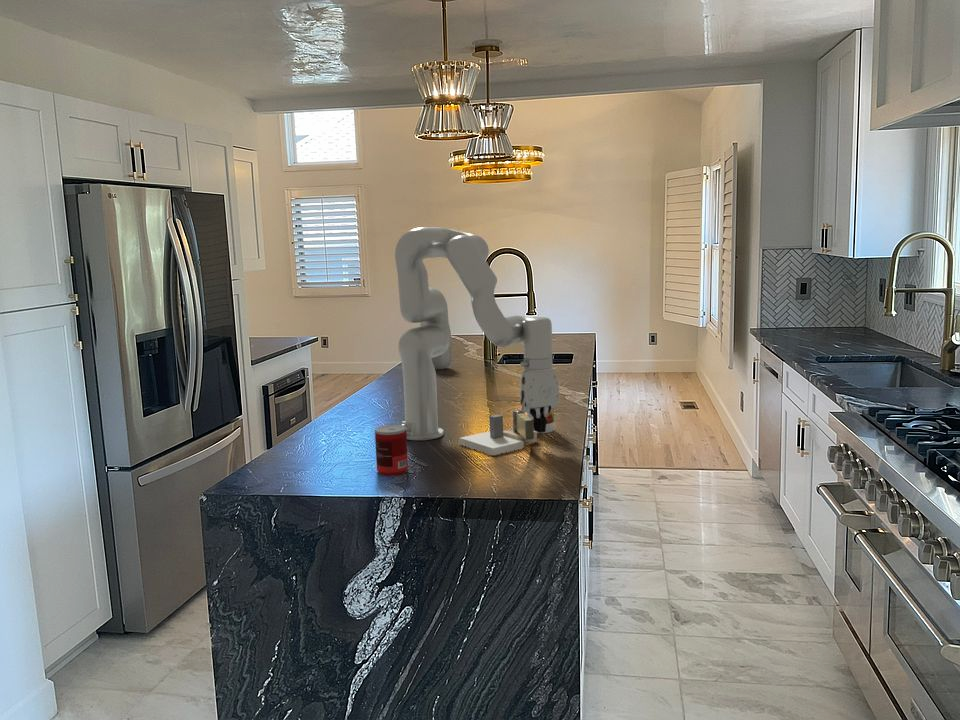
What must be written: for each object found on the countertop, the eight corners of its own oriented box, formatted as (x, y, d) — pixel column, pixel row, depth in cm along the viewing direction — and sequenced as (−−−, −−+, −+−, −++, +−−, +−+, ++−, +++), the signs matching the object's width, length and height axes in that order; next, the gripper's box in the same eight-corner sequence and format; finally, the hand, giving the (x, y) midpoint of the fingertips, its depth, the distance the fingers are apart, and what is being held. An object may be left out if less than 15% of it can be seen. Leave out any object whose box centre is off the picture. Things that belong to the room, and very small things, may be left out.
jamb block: (517, 446, 216) (517, 436, 216) (501, 441, 222) (501, 431, 221) (537, 442, 221) (536, 431, 220) (520, 437, 226) (520, 427, 226)
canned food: (408, 466, 201) (407, 423, 199) (407, 475, 193) (405, 431, 191) (378, 467, 201) (376, 425, 199) (375, 476, 193) (373, 432, 191)
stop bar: (512, 429, 222) (511, 410, 221) (523, 428, 223) (522, 409, 222) (524, 440, 210) (523, 420, 209) (535, 439, 210) (535, 419, 210)
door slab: (493, 455, 208) (492, 426, 207) (459, 444, 220) (458, 416, 219) (523, 448, 214) (523, 419, 213) (489, 438, 226) (488, 410, 225)
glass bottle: (426, 368, 350) (423, 304, 345) (448, 366, 353) (446, 303, 348) (431, 371, 340) (429, 306, 336) (454, 369, 343) (452, 305, 339)
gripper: (522, 368, 204) (523, 438, 206) (569, 362, 211) (570, 429, 214) (506, 365, 210) (508, 432, 213) (553, 359, 217) (554, 424, 220)
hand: (539, 431), depth 213 cm, fingers closed
